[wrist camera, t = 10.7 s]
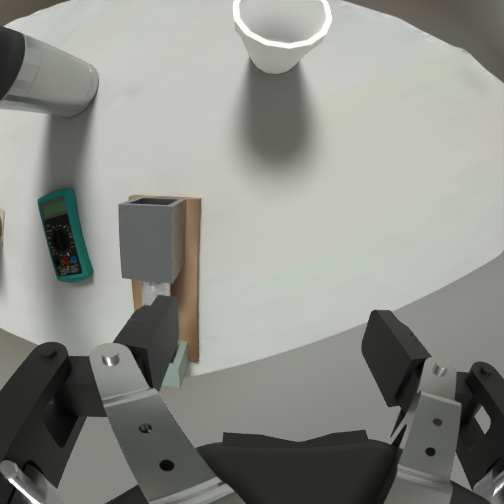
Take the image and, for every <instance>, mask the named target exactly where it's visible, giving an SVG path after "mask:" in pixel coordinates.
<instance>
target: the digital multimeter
mask: <svg viewBox="0 0 504 504" xmlns="http://www.w3.org/2000/svg"><path fill="white" fill-rule="evenodd" d="M38 206H39V211H40V215H41V219H42V224H43V228H44V232H45V236H46V240H47V244H48V247H49V251H50V255H51V259H52V262H53V266H54V269H55V273H56V276H57V279H58V280H59V281H64V282H78V281H81V280H83V279H85V278H87V277H89V276H90V275H91V274H92V273H93V269H92V266H91V263H90V260H89V257H88V254H87V250H86V247H85V243H84V240H83V236H82V232H81V227H80V223H79V218H78V213H77V207H76V200H75V194H74V189H73V188H69V189H65V190H60V191H56V192H53V193H50V194H47V195H45V196H43V197H41V198H39V199H38ZM69 221H70V222H69ZM73 238H74V239H73ZM67 249H68V250H67ZM77 253H78V254H77ZM76 274H77V275H76Z"/></svg>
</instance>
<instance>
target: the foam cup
mask: <svg viewBox="0 0 504 504" xmlns="http://www.w3.org/2000/svg"><path fill="white" fill-rule="evenodd" d="M232 5H233V15H234V24H235V30H236V31H237V33H238V34H239V35H240V37H241V38H242V41H243V43H244V45H245V47H246V49H247V52H248V54H249V56H250V58H251V60H252V61H253V63H254V64H255V66H256V67H257V68H258V69H260V70H262V71H264V72H265V73H271V74H280V73H284V72H287V71H288V70H289V69H291V68H292V67H293V66H295V65H296V64H297V63H298V62H299V61H300V60H301V59H302V58H303V57H304V56H305V55H306V54H307V53H308V52H309V51H310V50H312V49H313V48H315V47H316V46H317V45H319V44H320V43H321V42H322V40H323V39H324V37H325V35H326V34H327V31H328V29H329V26H330V24H331V22H332V16H331V11H330V7H329V3H328V2H327V1H326V0H235V1H234V2H233V4H232Z"/></svg>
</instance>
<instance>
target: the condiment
mask: <svg viewBox="0 0 504 504" xmlns="http://www.w3.org/2000/svg"><path fill="white" fill-rule="evenodd" d="M3 218H4V211H3V210H2V209H0V244H1V245H2V240H3V222H4V221H3V220H4V219H3Z"/></svg>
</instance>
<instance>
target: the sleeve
mask: <svg viewBox="0 0 504 504" xmlns="http://www.w3.org/2000/svg"><path fill="white" fill-rule="evenodd" d="M185 223H186V199H177V198H154V197H138V198H135V199H132V200H130V201H127V202H124V203H121V204H119V239H120V257H121V270H122V278H127V279H135V280H144V281H152V282H161V283H170V284H173V282H174V280H175V279H176V277H177V276H178V274H179V273H180V271H181V270H182V268H183V266H184V265H185Z"/></svg>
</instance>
